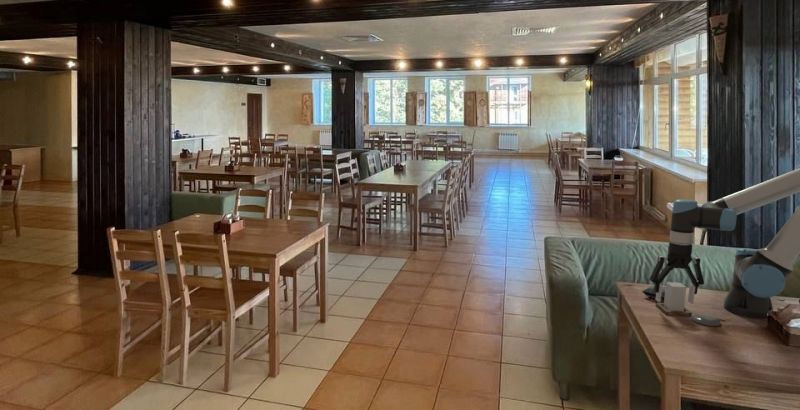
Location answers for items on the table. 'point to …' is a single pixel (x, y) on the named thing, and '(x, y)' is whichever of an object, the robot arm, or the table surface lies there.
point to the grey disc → (705, 320)
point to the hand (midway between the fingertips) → (674, 301)
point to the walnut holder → (683, 313)
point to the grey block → (674, 296)
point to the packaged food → (651, 293)
